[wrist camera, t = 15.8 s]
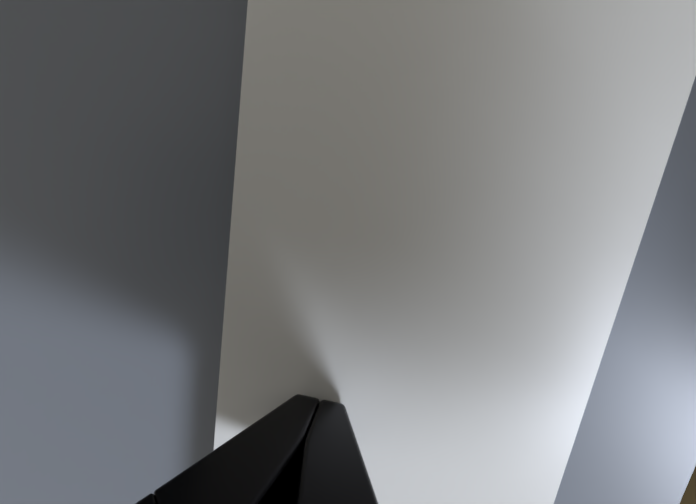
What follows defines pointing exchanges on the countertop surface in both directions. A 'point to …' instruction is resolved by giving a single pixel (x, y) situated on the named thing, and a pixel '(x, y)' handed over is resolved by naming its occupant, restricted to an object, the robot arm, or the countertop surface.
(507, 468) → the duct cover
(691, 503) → the countertop surface
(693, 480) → the countertop surface
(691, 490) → the countertop surface
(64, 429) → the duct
